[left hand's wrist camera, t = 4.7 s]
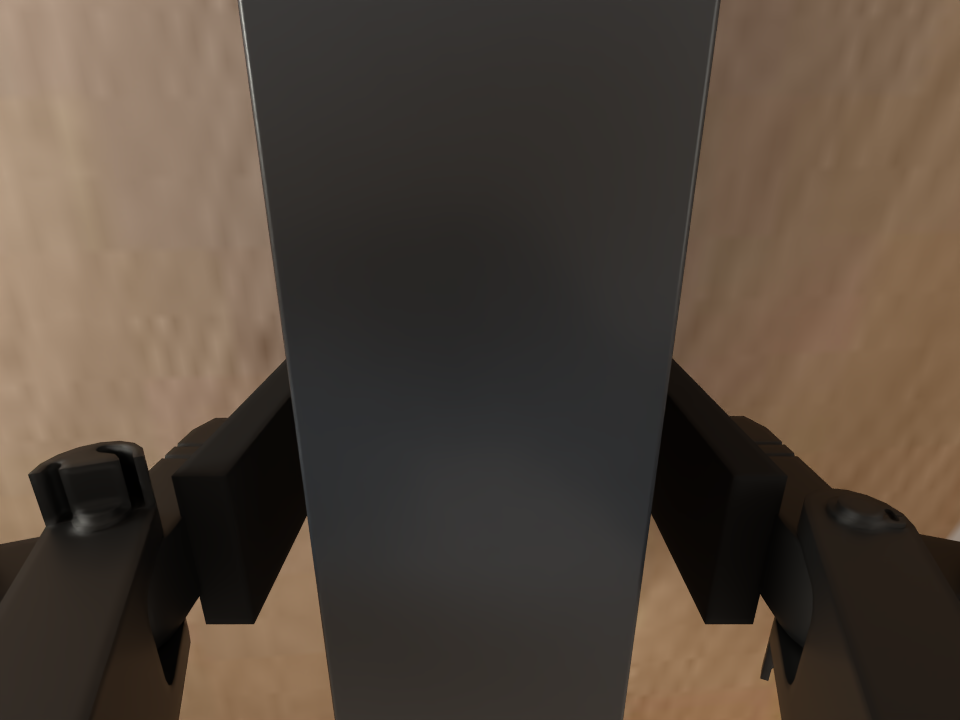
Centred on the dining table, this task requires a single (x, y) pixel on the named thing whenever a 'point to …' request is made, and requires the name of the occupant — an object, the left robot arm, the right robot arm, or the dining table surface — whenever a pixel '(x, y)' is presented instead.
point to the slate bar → (479, 329)
